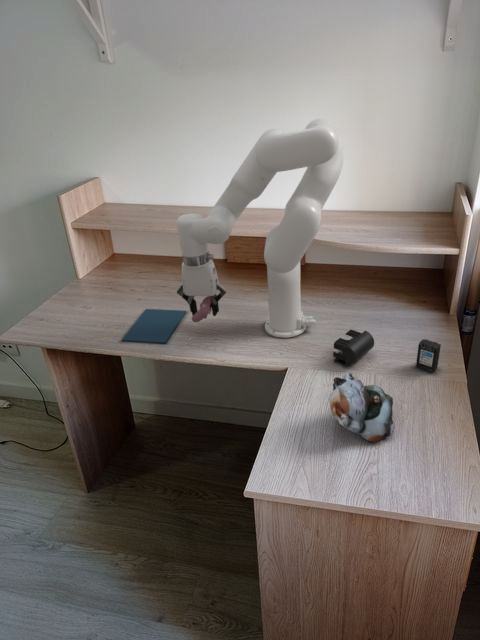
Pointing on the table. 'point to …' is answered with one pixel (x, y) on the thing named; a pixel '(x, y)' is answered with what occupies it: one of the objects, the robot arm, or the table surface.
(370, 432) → the lucky cat figurine
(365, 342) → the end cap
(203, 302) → the video game controller
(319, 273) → the table surface
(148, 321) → the rubber mat
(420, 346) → the ink cartridge
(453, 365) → the table surface
